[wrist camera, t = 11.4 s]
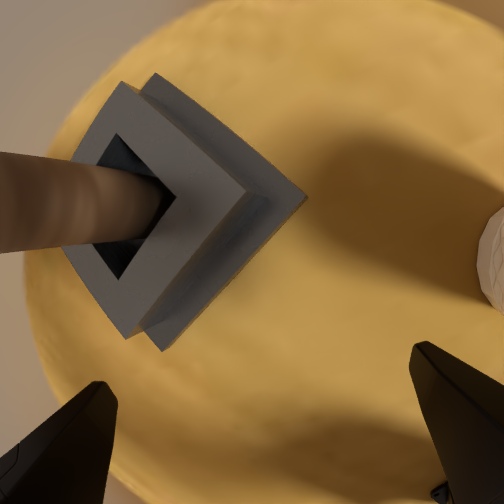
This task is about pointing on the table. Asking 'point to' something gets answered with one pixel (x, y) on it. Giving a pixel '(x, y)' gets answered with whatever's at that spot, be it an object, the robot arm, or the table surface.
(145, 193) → the peg
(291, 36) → the table surface
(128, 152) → the socket
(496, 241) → the white cup
